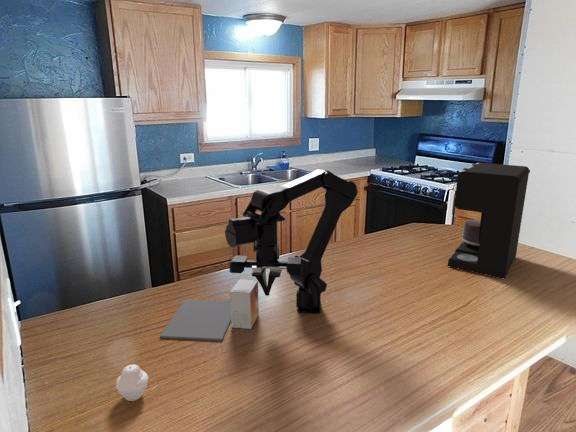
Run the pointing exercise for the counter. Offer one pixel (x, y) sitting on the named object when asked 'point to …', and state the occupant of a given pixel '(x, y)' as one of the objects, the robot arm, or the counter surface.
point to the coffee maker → (490, 217)
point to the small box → (244, 304)
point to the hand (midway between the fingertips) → (267, 295)
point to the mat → (199, 320)
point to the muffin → (132, 382)
